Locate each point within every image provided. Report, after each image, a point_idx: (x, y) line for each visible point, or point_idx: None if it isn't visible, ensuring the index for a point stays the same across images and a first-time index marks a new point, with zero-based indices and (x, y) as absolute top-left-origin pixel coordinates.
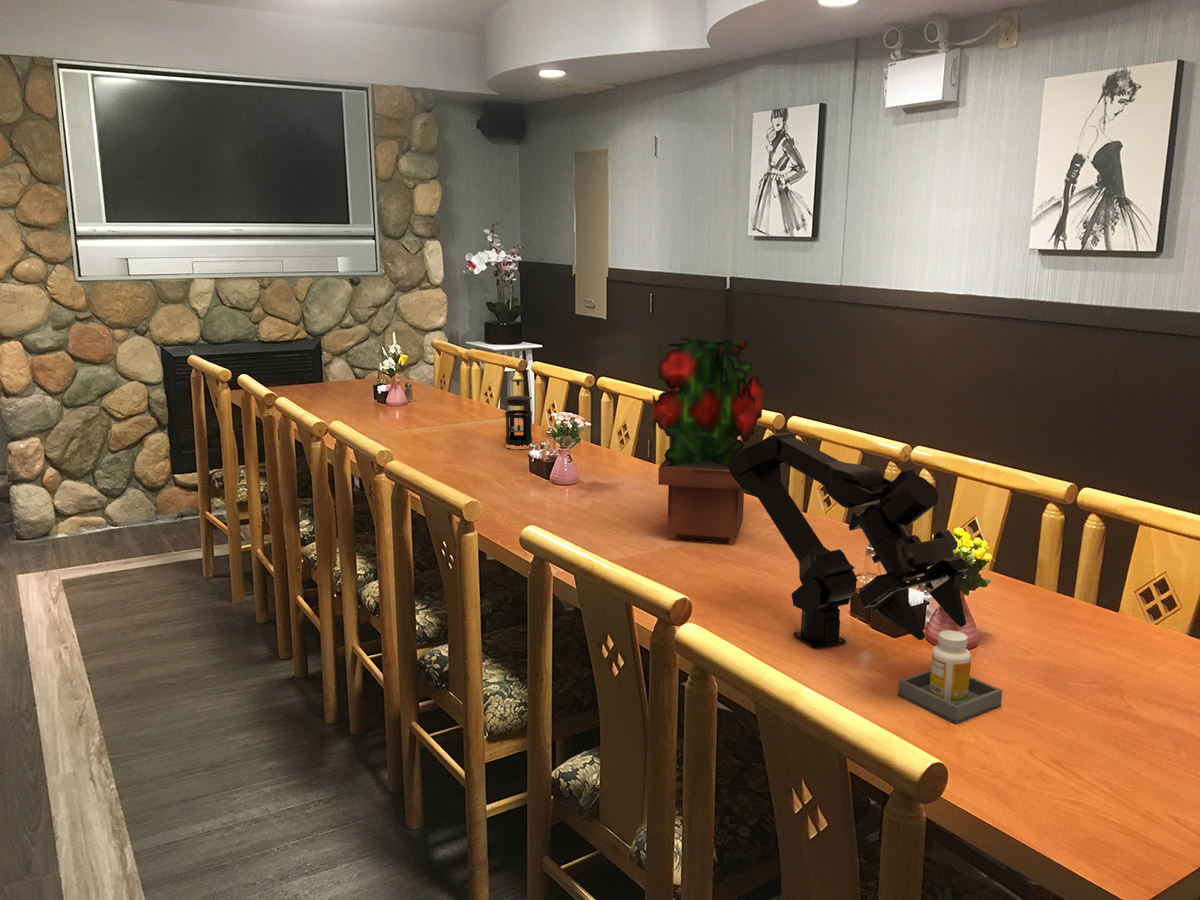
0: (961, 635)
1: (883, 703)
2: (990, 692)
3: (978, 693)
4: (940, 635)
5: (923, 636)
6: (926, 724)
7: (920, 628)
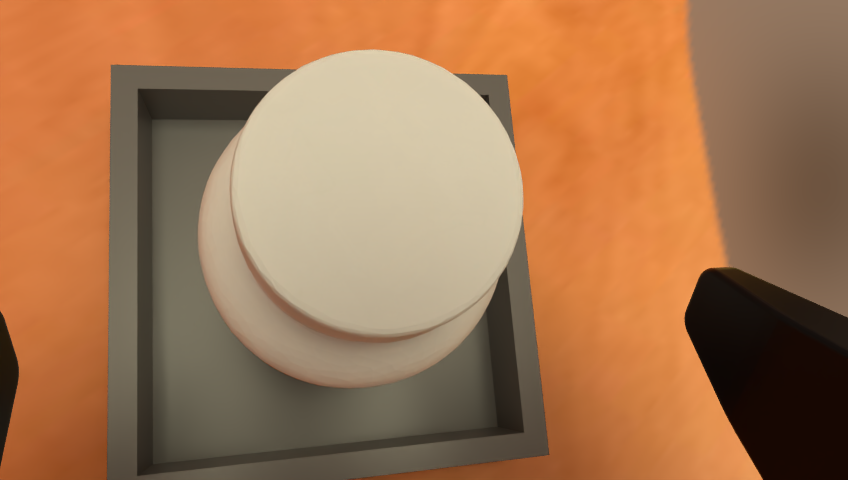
0: (306, 136)
1: (625, 415)
2: (201, 86)
3: (152, 216)
4: (505, 252)
5: (735, 269)
6: (587, 176)
7: (799, 306)
